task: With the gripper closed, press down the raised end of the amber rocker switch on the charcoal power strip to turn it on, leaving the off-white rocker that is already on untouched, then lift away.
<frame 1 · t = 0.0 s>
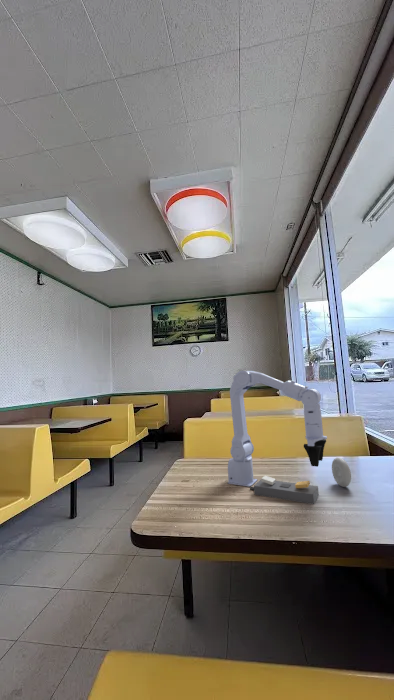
hand: (317, 463, 105), 10 cm above the table, tool pointing down, fingers open, 7 cm apart
grey round disc: (342, 486, 109), on the table
amber rocker: (302, 484, 101), point 4 cm above the table, hinge at -12.0°
power strip: (286, 494, 104), on the table
white rocker: (268, 480, 107), point 4 cm above the table, hinge at 12.0°
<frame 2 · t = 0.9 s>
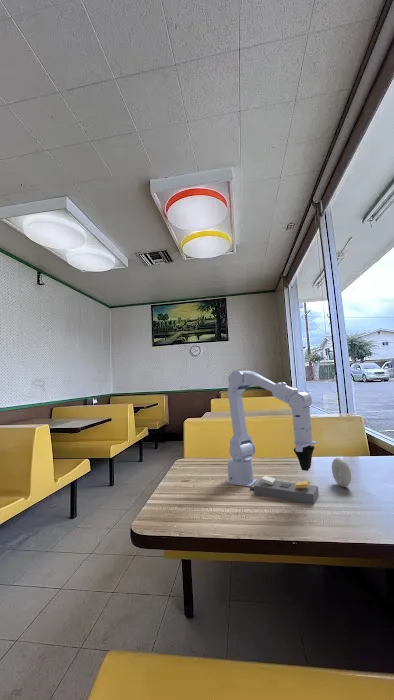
hand: (306, 469, 101), 9 cm above the table, tool pointing down, fingers closed
nothing on the table moved.
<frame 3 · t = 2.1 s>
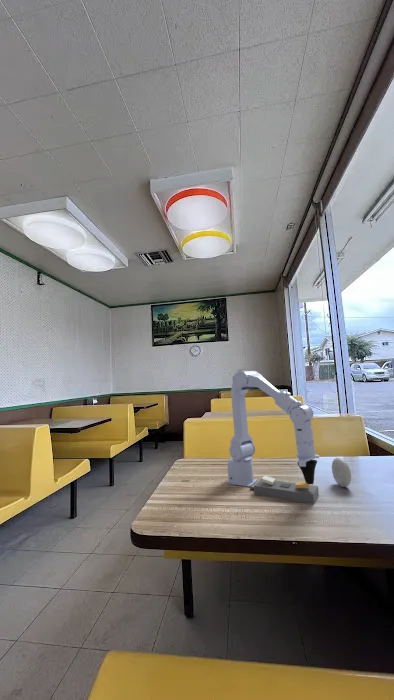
hand: (309, 483, 100), 5 cm above the table, tool pointing down, fingers closed, pressing on amber rocker
amber rocker: (302, 484, 101), point 4 cm above the table, hinge at -9.9°, touching gripper
everything else where it was.
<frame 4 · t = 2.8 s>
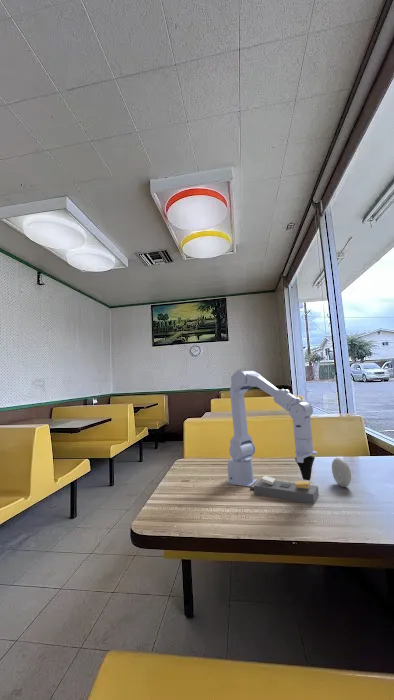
hand: (306, 479, 100), 6 cm above the table, tool pointing down, fingers closed
amber rocker: (302, 484, 101), point 4 cm above the table, hinge at -2.0°
everything else where it was.
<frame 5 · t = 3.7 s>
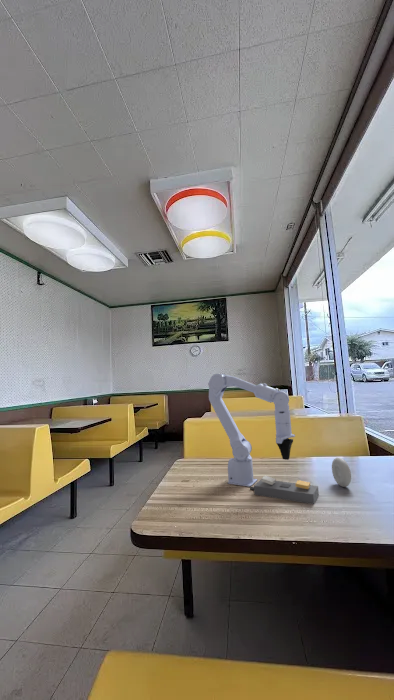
hand: (286, 459, 114), 9 cm above the table, tool pointing down, fingers closed
amber rocker: (302, 484, 101), point 4 cm above the table, hinge at 4.9°
everything else where it was.
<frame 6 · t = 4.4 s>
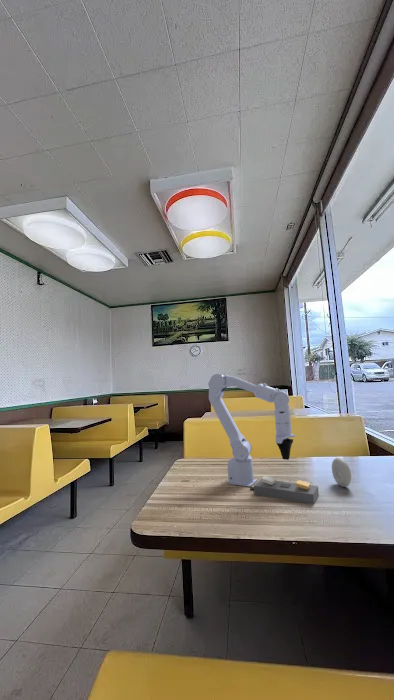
hand: (286, 459, 114), 9 cm above the table, tool pointing down, fingers closed
amber rocker: (303, 484, 101), point 4 cm above the table, hinge at 9.5°
everything else where it was.
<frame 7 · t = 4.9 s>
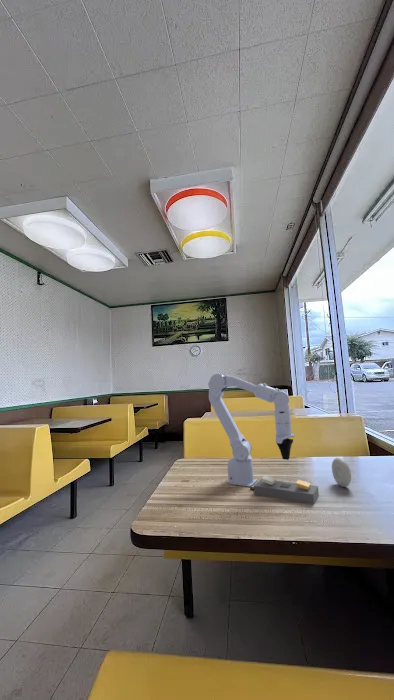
hand: (286, 459, 114), 9 cm above the table, tool pointing down, fingers closed
amber rocker: (303, 484, 101), point 4 cm above the table, hinge at 12.3°
everything else where it was.
at the end: amber rocker at +13° (first picture: -12°); white rocker at +12° (first picture: +12°) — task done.
